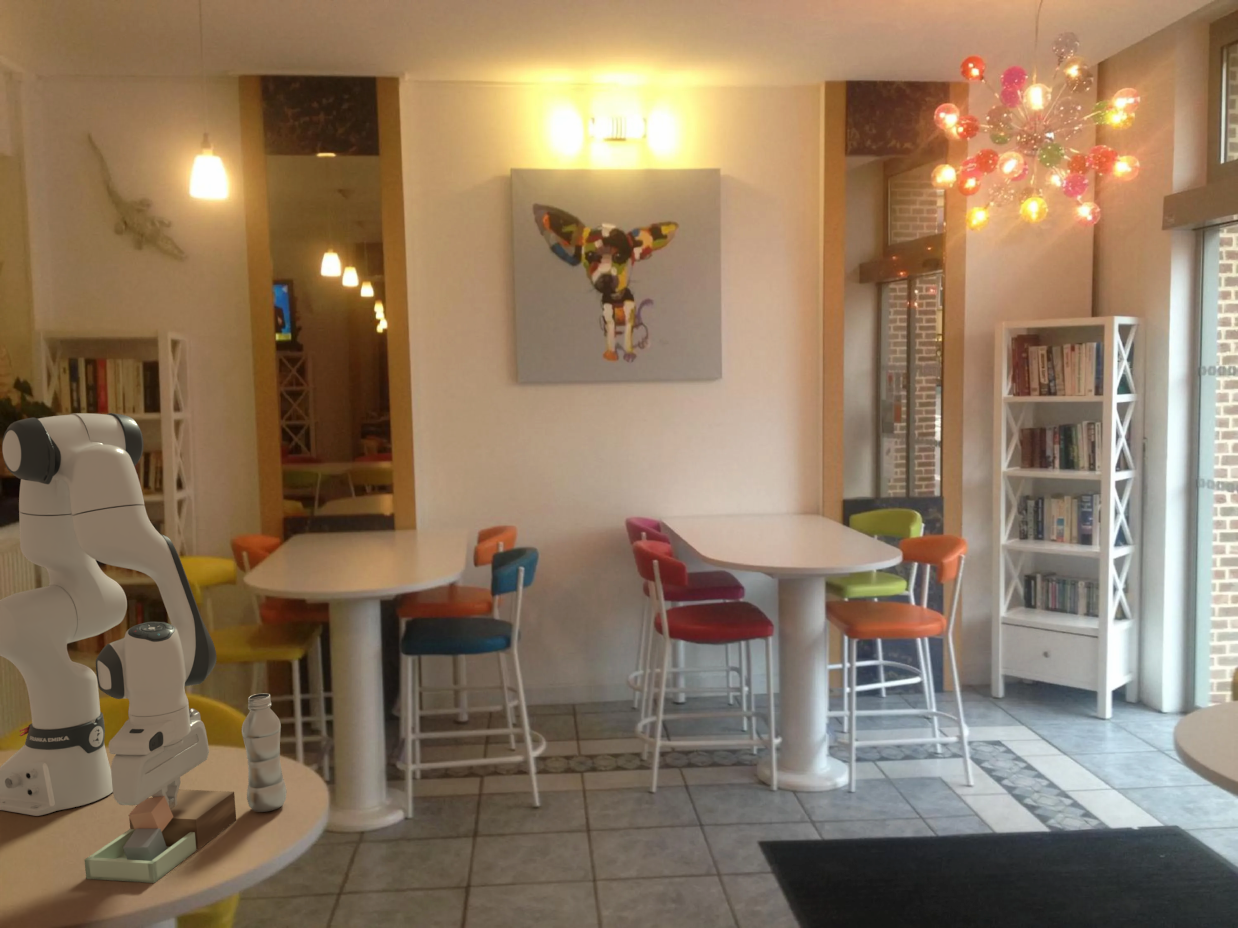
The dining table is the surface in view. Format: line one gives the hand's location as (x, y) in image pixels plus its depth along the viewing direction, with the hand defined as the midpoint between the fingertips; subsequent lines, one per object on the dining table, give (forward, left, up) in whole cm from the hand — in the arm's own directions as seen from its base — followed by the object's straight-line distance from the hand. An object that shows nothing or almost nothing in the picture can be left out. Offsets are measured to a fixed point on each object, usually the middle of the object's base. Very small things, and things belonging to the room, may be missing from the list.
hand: (167, 809), depth 171 cm
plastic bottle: (+8, +16, -6) cm, 19 cm away
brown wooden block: (-1, +5, -6) cm, 8 cm away
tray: (-1, -6, -6) cm, 9 cm away
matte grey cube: (0, -5, -3) cm, 5 cm away
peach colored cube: (0, -3, -1) cm, 3 cm away
